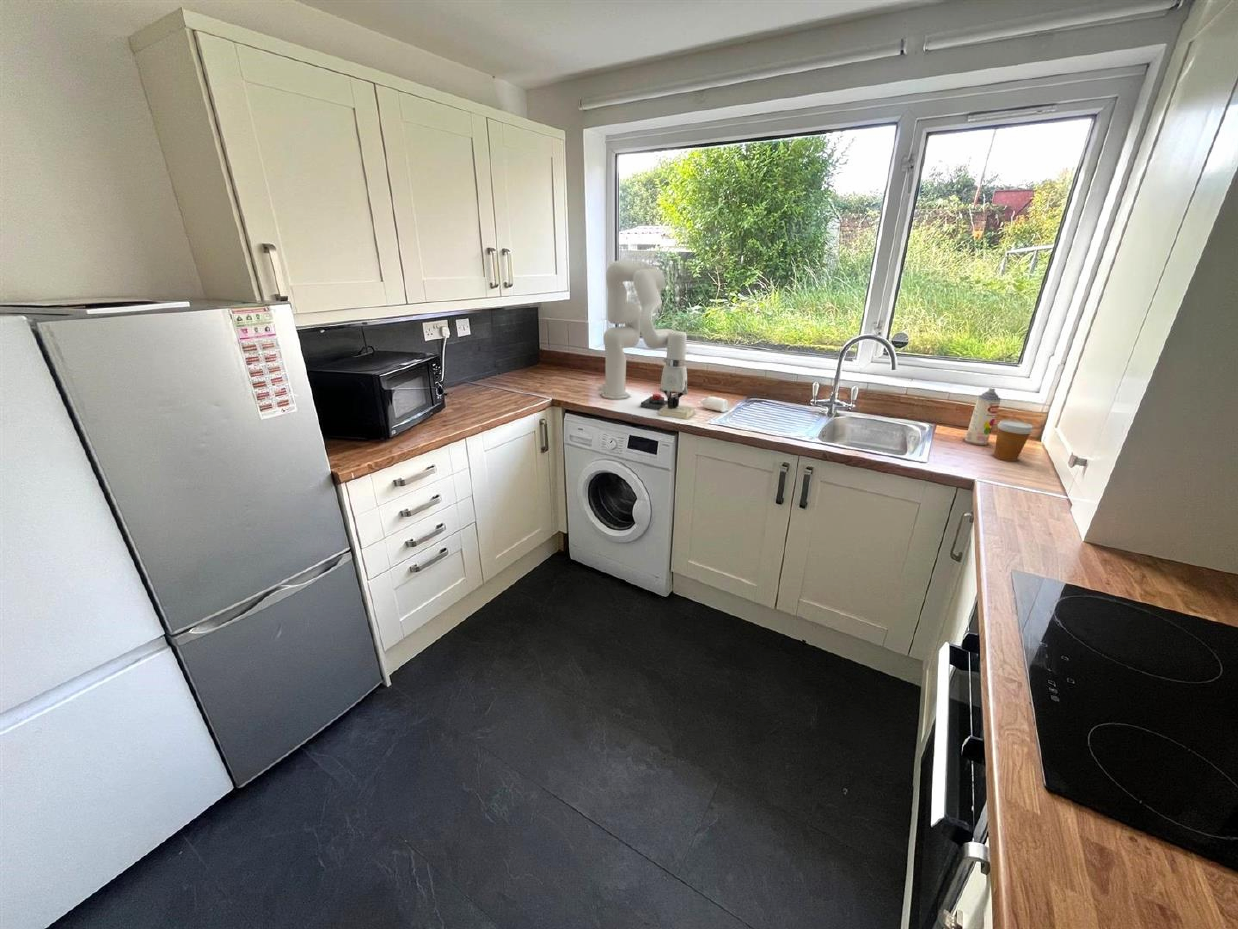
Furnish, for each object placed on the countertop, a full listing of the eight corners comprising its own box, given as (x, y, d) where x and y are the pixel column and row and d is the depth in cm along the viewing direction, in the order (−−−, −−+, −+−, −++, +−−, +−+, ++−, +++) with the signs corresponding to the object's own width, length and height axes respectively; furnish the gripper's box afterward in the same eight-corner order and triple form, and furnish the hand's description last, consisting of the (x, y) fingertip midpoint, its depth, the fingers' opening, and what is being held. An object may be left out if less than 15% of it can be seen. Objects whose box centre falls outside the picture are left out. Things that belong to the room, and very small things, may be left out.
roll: (703, 405, 223) (704, 393, 221) (727, 410, 216) (729, 397, 214) (696, 408, 219) (697, 395, 217) (721, 413, 212) (722, 400, 210)
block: (640, 407, 218) (641, 398, 216) (648, 402, 225) (648, 394, 224) (664, 410, 214) (664, 401, 212) (671, 405, 221) (672, 397, 220)
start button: (651, 399, 217) (651, 395, 217) (654, 397, 220) (654, 393, 220) (659, 400, 216) (659, 396, 215) (661, 398, 219) (662, 394, 218)
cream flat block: (657, 414, 207) (657, 408, 206) (665, 409, 216) (666, 403, 215) (686, 419, 202) (687, 412, 201) (694, 413, 211) (694, 407, 210)
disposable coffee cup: (1024, 465, 161) (1036, 429, 157) (988, 459, 166) (999, 424, 162) (1020, 456, 169) (1032, 422, 165) (987, 451, 174) (997, 418, 169)
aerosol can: (979, 446, 178) (996, 391, 171) (960, 440, 184) (976, 387, 177) (991, 444, 181) (1008, 390, 174) (972, 438, 187) (987, 385, 179)
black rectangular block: (672, 409, 206) (672, 396, 204) (668, 408, 207) (668, 396, 205) (677, 406, 211) (678, 394, 209) (673, 405, 211) (674, 393, 209)
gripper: (653, 362, 202) (651, 406, 209) (690, 366, 195) (686, 411, 202) (661, 359, 208) (659, 402, 215) (697, 363, 201) (693, 407, 208)
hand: (672, 406), depth 209 cm, fingers closed on black rectangular block, 2 cm apart
